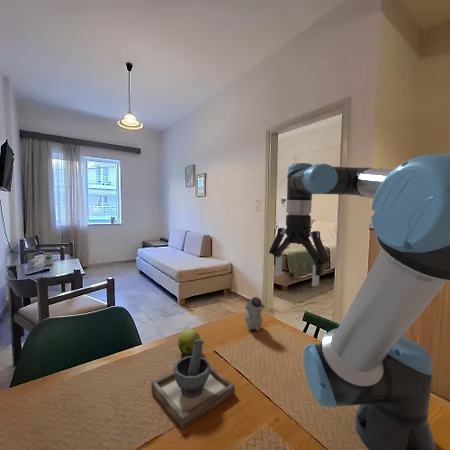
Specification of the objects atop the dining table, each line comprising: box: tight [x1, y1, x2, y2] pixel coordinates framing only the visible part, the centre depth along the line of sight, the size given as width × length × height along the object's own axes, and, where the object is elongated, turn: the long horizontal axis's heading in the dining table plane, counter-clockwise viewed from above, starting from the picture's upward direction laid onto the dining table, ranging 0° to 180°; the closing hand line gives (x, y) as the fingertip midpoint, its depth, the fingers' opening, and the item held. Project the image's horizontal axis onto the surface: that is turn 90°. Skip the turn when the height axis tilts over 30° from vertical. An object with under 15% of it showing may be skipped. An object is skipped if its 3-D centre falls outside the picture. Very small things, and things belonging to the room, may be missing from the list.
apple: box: [177, 328, 201, 355], centre depth 90 cm, size 8×9×8 cm
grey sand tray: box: [150, 365, 236, 430], centre depth 71 cm, size 16×17×3 cm
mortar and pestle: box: [173, 339, 211, 398], centre depth 70 cm, size 11×9×12 cm
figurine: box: [244, 296, 265, 332], centre depth 106 cm, size 9×10×15 cm
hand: (295, 280), depth 81 cm, fingers open, 13 cm apart
